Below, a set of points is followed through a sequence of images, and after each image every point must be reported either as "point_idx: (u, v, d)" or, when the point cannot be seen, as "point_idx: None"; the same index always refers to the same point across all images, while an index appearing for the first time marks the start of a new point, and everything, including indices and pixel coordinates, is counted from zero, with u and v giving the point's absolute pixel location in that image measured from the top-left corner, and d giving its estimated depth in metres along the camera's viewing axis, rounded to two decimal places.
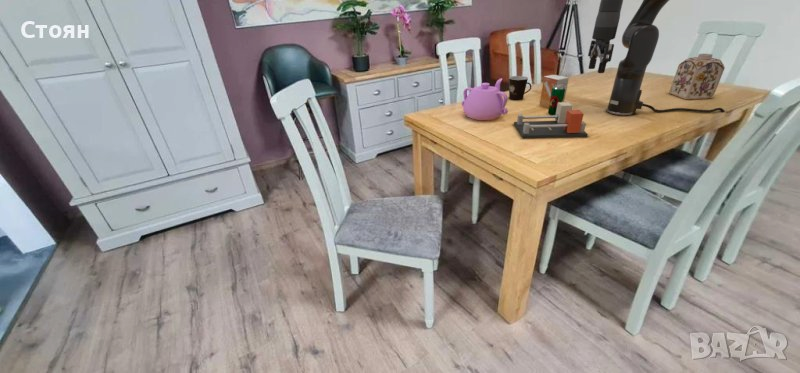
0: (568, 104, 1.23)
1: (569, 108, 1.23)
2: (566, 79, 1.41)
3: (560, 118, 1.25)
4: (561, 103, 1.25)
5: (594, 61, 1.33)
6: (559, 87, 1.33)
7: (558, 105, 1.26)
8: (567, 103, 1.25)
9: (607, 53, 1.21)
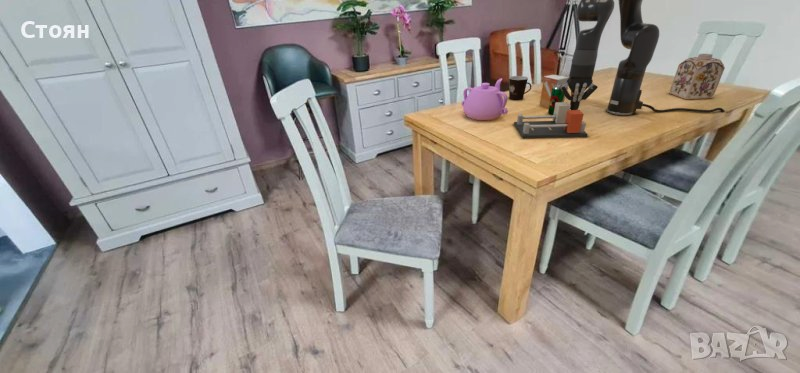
0: (566, 104, 1.24)
1: (567, 108, 1.23)
2: (566, 79, 1.41)
3: (558, 118, 1.25)
4: (559, 103, 1.25)
5: None
6: (559, 87, 1.33)
7: (556, 105, 1.26)
8: (564, 103, 1.25)
9: (563, 93, 1.23)
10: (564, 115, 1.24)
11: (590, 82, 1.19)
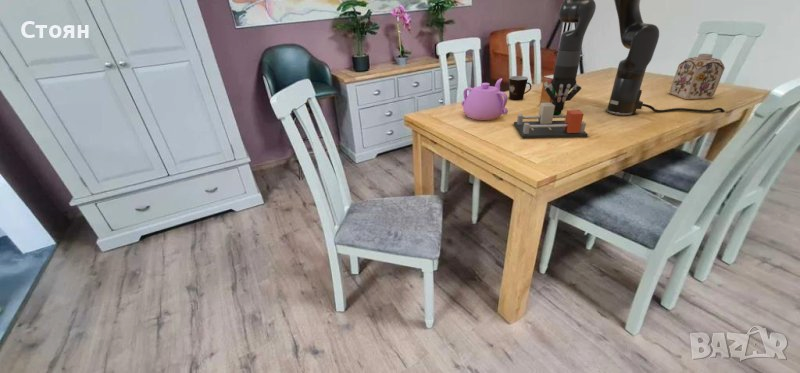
0: (550, 105, 1.24)
1: (551, 109, 1.24)
2: None
3: (542, 118, 1.26)
4: (543, 104, 1.26)
5: None
6: None
7: (541, 106, 1.26)
8: (549, 103, 1.26)
9: (548, 94, 1.24)
10: (549, 115, 1.25)
11: (574, 83, 1.19)
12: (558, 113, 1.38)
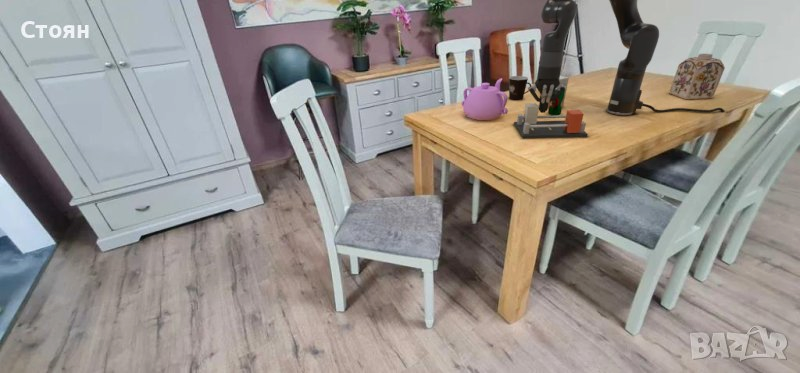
0: (534, 105, 1.25)
1: (535, 109, 1.24)
2: (566, 79, 1.41)
3: (527, 119, 1.26)
4: (528, 104, 1.26)
5: None
6: None
7: (525, 106, 1.27)
8: (533, 104, 1.26)
9: (532, 95, 1.24)
10: (533, 116, 1.25)
11: (557, 84, 1.20)
12: (558, 113, 1.38)
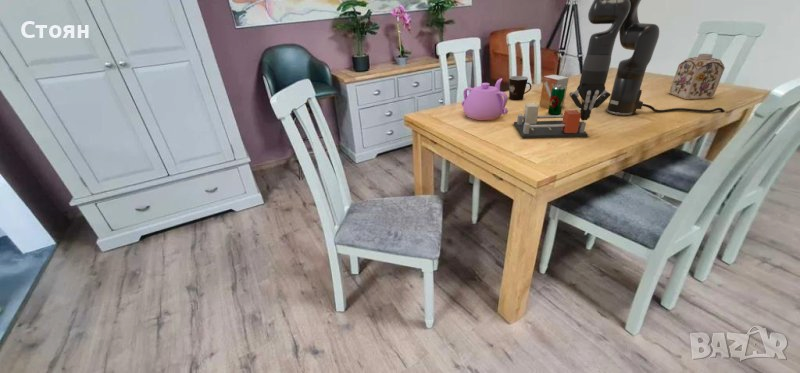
0: (534, 105, 1.25)
1: (535, 109, 1.24)
2: (566, 79, 1.41)
3: (527, 119, 1.26)
4: (528, 104, 1.26)
5: None
6: (559, 87, 1.33)
7: (525, 106, 1.27)
8: (533, 104, 1.26)
9: None
10: (533, 116, 1.25)
11: (602, 89, 1.10)
12: (558, 113, 1.38)
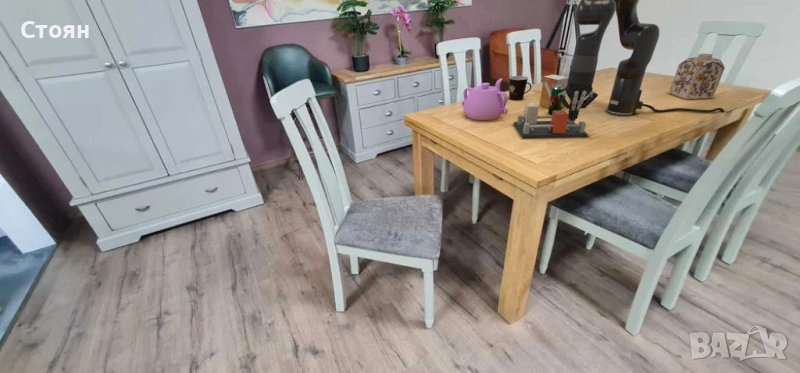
0: (534, 105, 1.25)
1: (535, 109, 1.24)
2: (566, 79, 1.41)
3: (527, 119, 1.26)
4: (528, 104, 1.26)
5: None
6: (559, 87, 1.33)
7: (525, 106, 1.27)
8: (533, 104, 1.26)
9: (561, 101, 1.15)
10: (533, 116, 1.25)
11: (590, 90, 1.11)
12: None
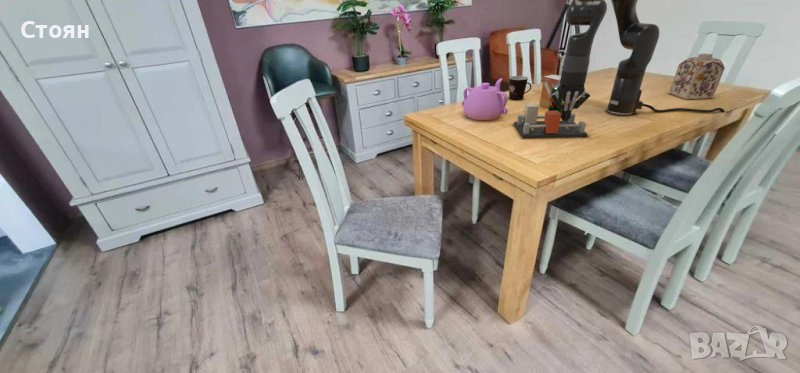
0: (534, 105, 1.25)
1: (535, 109, 1.24)
2: None
3: (527, 119, 1.26)
4: (528, 104, 1.26)
5: None
6: None
7: (525, 106, 1.27)
8: (533, 104, 1.26)
9: (554, 102, 1.15)
10: (533, 116, 1.25)
11: (582, 90, 1.11)
12: None
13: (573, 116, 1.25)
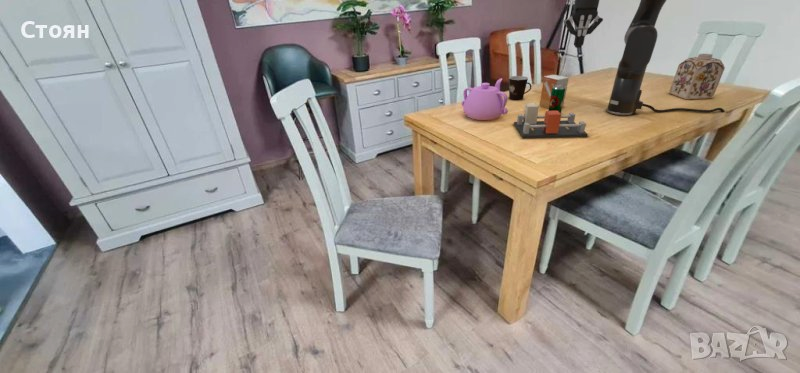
0: (534, 105, 1.25)
1: (535, 109, 1.24)
2: (566, 79, 1.41)
3: (527, 119, 1.26)
4: (528, 104, 1.26)
5: None
6: (559, 87, 1.33)
7: (525, 106, 1.27)
8: (533, 104, 1.26)
9: (568, 28, 1.19)
10: (533, 116, 1.25)
11: (595, 14, 1.15)
12: None
13: (573, 116, 1.25)
